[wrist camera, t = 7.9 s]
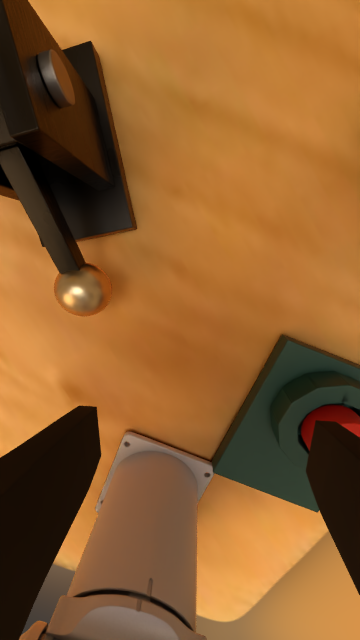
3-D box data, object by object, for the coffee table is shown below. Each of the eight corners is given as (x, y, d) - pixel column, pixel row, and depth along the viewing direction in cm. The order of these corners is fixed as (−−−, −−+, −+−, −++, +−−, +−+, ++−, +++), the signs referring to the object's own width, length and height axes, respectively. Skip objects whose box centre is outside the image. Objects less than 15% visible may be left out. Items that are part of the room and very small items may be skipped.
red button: (340, 459, 16) (356, 484, 14) (290, 439, 16) (300, 462, 14) (372, 416, 15) (394, 438, 13) (319, 395, 15) (334, 414, 13)
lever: (123, 294, 15) (112, 322, 13) (80, 301, 16) (61, 330, 13) (25, 46, 9) (-34, 11, 7) (-44, 69, 9) (-123, 44, 7)
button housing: (310, 498, 20) (329, 539, 17) (211, 460, 20) (213, 495, 17) (400, 381, 17) (442, 408, 14) (281, 333, 16) (299, 351, 13)
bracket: (137, 229, 15) (76, 206, 8) (51, 247, 16) (-79, 242, 9) (99, 55, 13) (-40, -214, 5) (1, 86, 14) (-238, -113, 6)
